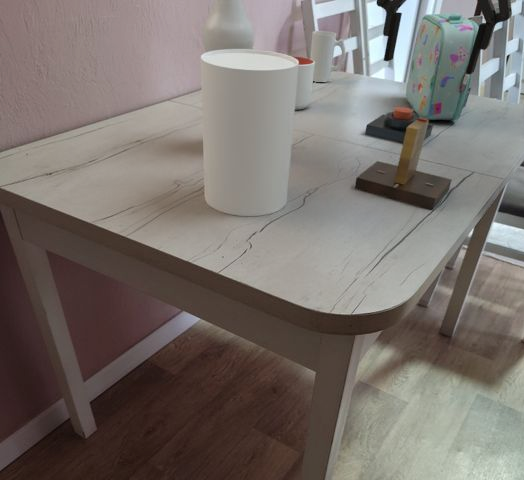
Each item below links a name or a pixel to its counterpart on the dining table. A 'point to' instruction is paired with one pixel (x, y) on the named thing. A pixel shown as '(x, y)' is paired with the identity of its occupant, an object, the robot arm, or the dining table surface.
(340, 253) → the dining table surface
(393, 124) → the push button base
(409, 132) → the block
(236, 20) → the white bottle
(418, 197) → the plate
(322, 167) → the dining table surface
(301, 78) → the cup
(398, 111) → the bell button
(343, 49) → the mug
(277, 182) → the canister
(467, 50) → the lunch box
